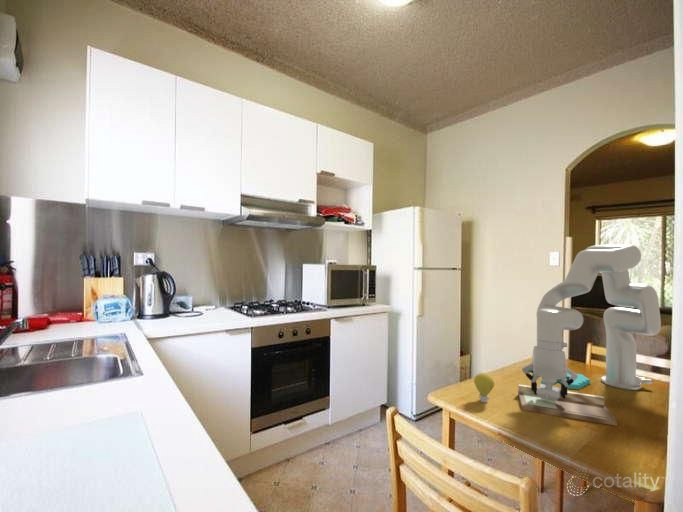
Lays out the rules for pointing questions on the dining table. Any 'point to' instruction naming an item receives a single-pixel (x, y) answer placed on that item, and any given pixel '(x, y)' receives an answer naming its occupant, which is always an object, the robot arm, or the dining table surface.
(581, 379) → the teal pixel sprite
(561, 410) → the brown piece
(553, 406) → the end mark
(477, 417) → the dining table surface
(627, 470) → the dining table surface
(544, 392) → the stamp
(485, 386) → the light bulb
